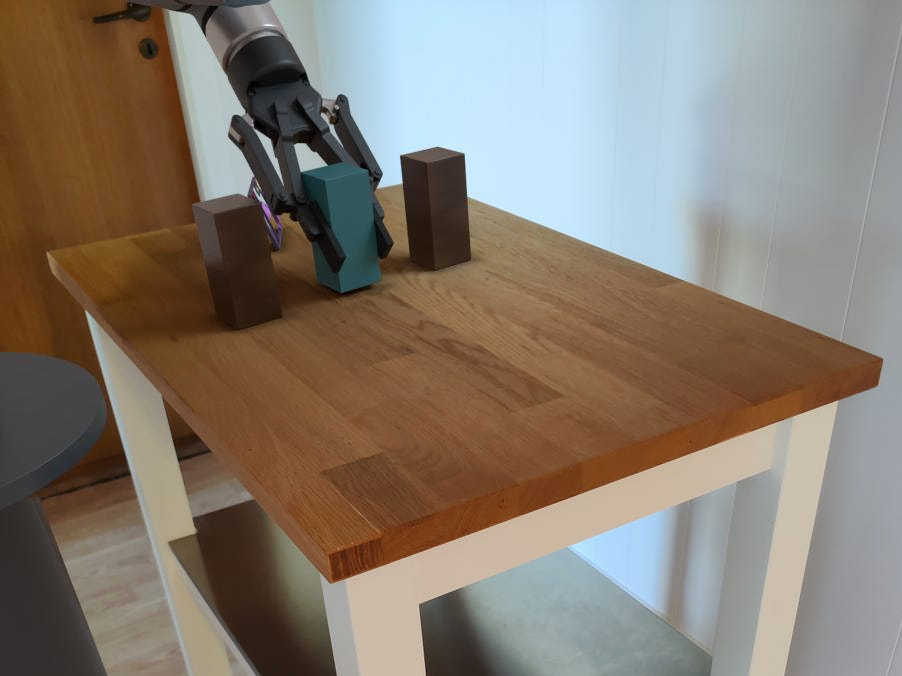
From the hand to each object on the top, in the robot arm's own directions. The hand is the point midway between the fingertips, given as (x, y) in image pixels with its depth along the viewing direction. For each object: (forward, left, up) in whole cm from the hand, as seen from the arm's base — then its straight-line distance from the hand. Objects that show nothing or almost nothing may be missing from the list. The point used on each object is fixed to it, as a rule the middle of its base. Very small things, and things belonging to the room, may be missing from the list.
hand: (363, 257), depth 101 cm
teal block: (-2, +3, -3) cm, 5 cm away
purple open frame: (-14, +22, -4) cm, 26 cm away
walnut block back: (+8, +10, -4) cm, 13 cm away
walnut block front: (-12, -4, -4) cm, 13 cm away
